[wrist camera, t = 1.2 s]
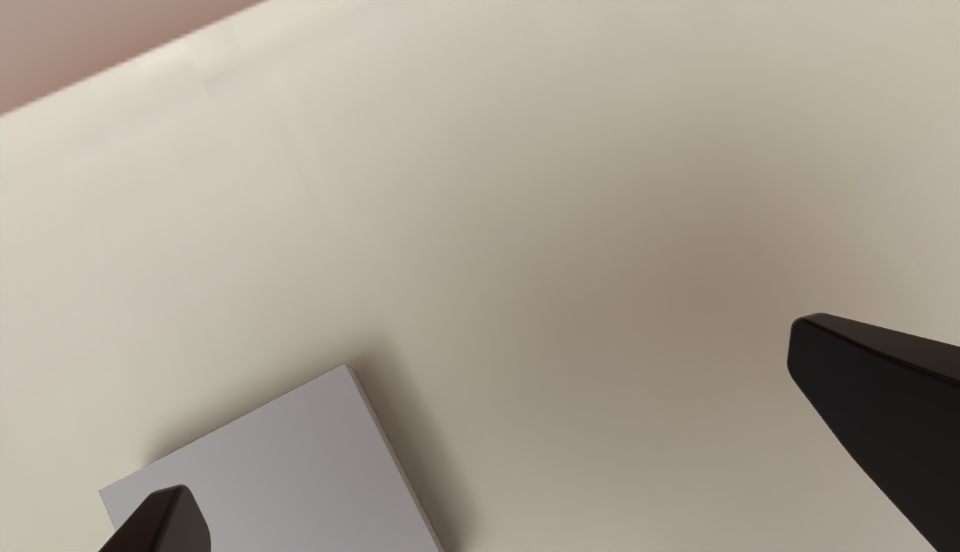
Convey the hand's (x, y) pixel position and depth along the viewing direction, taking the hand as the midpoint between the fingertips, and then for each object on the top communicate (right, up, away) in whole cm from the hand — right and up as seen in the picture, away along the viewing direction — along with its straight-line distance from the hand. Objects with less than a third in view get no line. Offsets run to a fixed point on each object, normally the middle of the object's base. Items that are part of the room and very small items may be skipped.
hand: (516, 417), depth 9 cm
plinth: (-7, -7, +13) cm, 16 cm away
